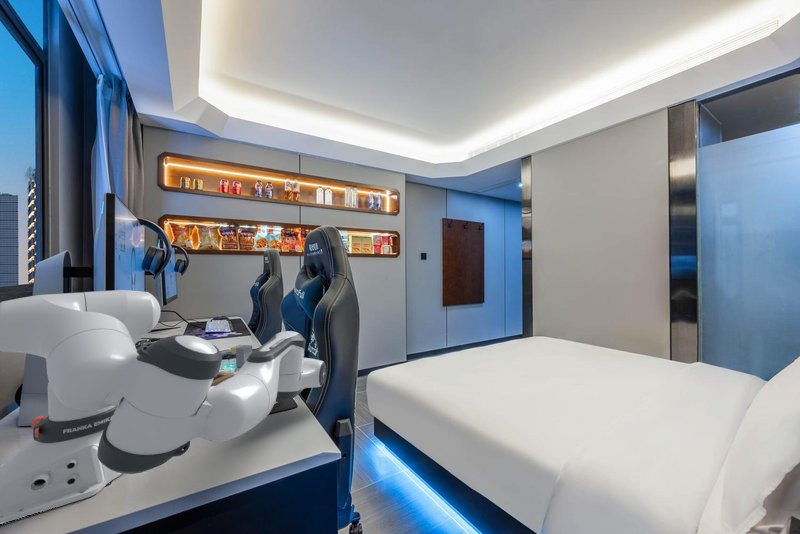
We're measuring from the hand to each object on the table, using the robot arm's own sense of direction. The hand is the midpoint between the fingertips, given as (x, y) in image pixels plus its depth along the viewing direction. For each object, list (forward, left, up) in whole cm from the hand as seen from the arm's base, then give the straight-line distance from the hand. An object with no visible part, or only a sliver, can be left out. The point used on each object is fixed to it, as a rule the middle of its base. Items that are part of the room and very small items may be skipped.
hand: (242, 367), depth 104 cm
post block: (-6, +11, -10) cm, 16 cm away
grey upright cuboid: (0, -1, -10) cm, 10 cm away
